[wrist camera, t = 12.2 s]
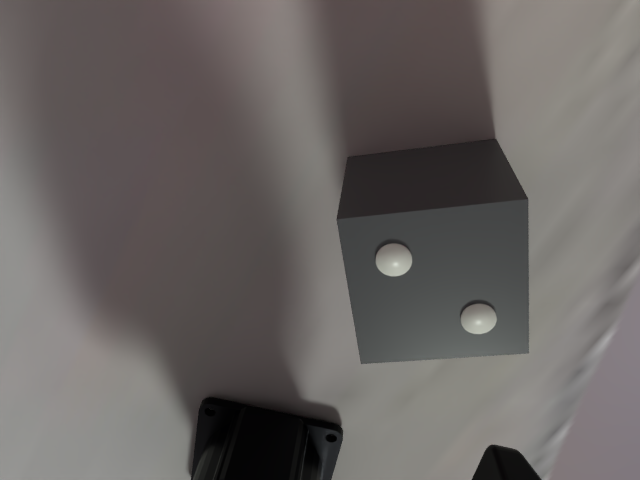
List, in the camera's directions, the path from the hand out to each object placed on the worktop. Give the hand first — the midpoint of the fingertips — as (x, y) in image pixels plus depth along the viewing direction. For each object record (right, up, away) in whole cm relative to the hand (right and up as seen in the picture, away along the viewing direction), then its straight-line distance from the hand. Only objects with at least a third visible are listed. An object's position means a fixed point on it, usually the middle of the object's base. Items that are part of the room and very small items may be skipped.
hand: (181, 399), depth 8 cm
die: (+6, +3, +12) cm, 14 cm away
